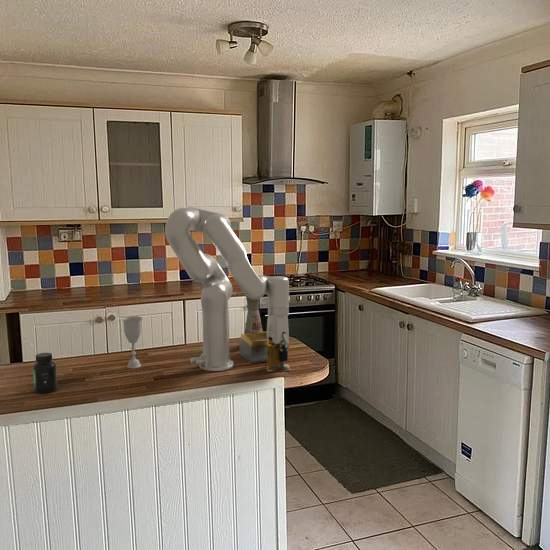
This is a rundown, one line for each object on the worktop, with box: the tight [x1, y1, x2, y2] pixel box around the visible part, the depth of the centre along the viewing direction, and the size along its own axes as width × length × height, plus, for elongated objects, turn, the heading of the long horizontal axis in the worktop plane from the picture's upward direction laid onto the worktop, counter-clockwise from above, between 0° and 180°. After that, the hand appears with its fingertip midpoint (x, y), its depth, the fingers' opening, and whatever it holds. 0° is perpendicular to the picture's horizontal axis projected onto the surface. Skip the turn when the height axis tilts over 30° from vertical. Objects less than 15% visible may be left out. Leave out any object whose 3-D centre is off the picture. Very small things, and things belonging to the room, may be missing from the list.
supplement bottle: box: [32, 352, 58, 395], centre depth 173 cm, size 7×7×12 cm
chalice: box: [121, 315, 143, 369], centre depth 197 cm, size 7×7×18 cm
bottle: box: [243, 295, 264, 334], centre depth 222 cm, size 9×9×28 cm
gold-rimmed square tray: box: [238, 330, 269, 364], centre depth 210 cm, size 16×13×8 cm
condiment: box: [266, 336, 291, 372], centre depth 195 cm, size 7×8×12 cm
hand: (278, 357), depth 195 cm, fingers open, 8 cm apart
